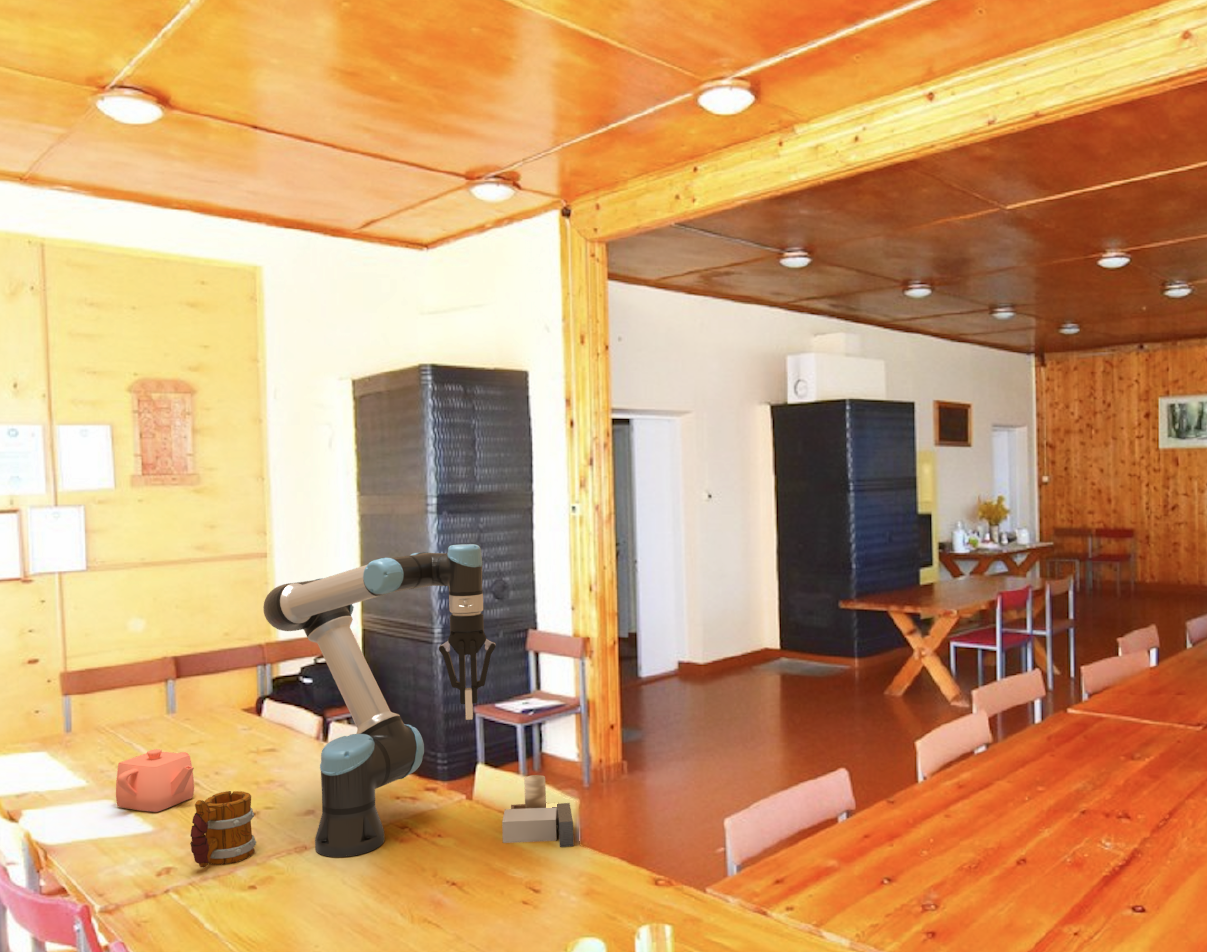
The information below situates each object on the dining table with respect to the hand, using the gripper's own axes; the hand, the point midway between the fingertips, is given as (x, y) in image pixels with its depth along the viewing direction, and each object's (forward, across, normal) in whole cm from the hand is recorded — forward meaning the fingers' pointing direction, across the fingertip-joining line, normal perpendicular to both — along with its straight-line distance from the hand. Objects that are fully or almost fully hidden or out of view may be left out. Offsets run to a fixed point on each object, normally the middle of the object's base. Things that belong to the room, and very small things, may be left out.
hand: (469, 717), depth 211 cm
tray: (+28, +14, +13) cm, 34 cm away
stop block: (+28, +21, 0) cm, 35 cm away
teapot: (+29, -82, +41) cm, 96 cm away
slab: (+28, +13, +2) cm, 31 cm away
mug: (+28, -55, 0) cm, 62 cm away
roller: (+27, +14, +13) cm, 34 cm away
